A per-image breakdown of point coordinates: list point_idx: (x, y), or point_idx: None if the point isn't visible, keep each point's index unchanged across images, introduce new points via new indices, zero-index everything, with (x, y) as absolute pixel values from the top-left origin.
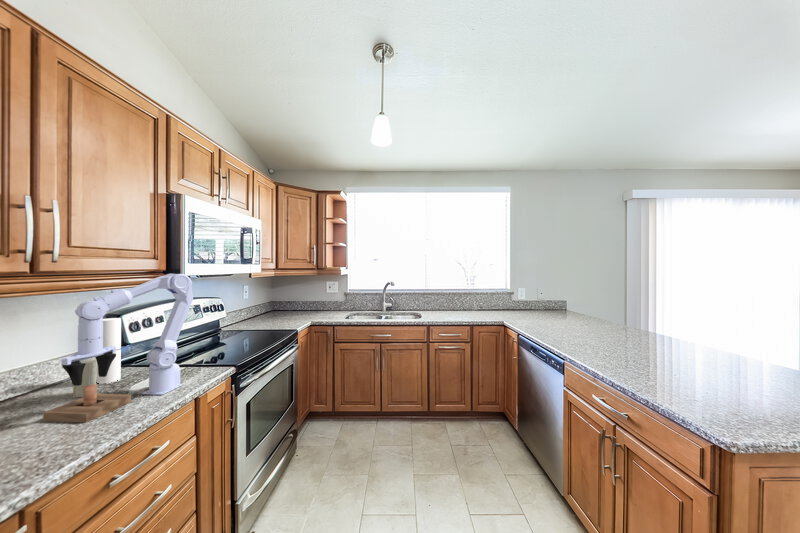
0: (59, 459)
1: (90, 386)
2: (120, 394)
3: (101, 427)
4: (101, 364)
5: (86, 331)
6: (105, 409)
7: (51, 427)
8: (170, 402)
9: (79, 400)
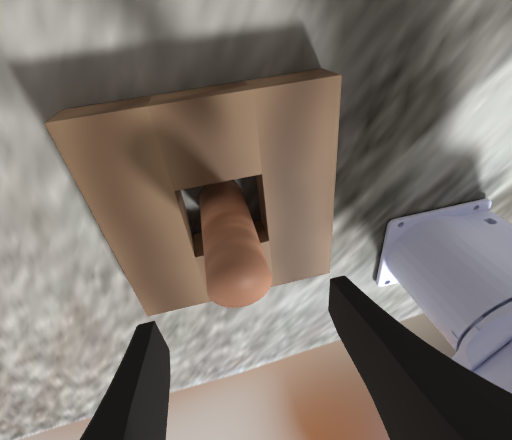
0: (22, 413)
1: (233, 295)
2: (331, 233)
3: None
4: (391, 386)
5: None
6: None
7: (64, 230)
8: (322, 339)
9: (236, 125)
